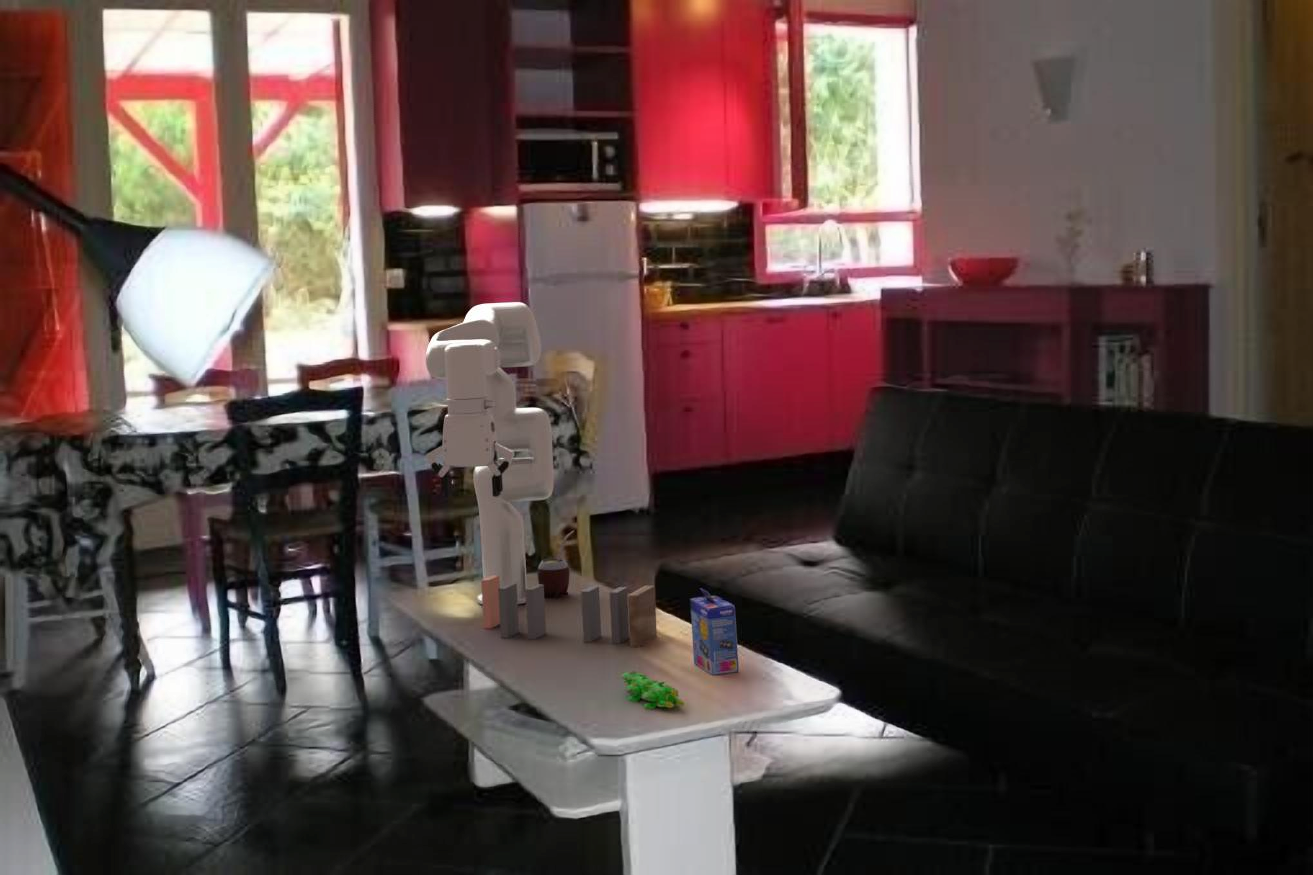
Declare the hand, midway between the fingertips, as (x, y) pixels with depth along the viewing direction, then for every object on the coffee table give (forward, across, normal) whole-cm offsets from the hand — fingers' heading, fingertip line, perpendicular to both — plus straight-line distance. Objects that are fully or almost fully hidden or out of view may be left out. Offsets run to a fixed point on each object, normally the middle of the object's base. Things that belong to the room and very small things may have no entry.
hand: (472, 496), depth 303 cm
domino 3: (+30, -9, -10) cm, 32 cm away
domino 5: (+30, -26, -6) cm, 40 cm away
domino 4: (+30, -20, -7) cm, 37 cm away
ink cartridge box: (+30, -48, +15) cm, 58 cm away
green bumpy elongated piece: (+30, -40, +36) cm, 62 cm away
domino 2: (+30, -3, -11) cm, 32 cm away
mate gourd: (+30, -4, -47) cm, 56 cm away
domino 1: (+30, +3, -19) cm, 35 cm away
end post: (+30, -31, -5) cm, 43 cm away
